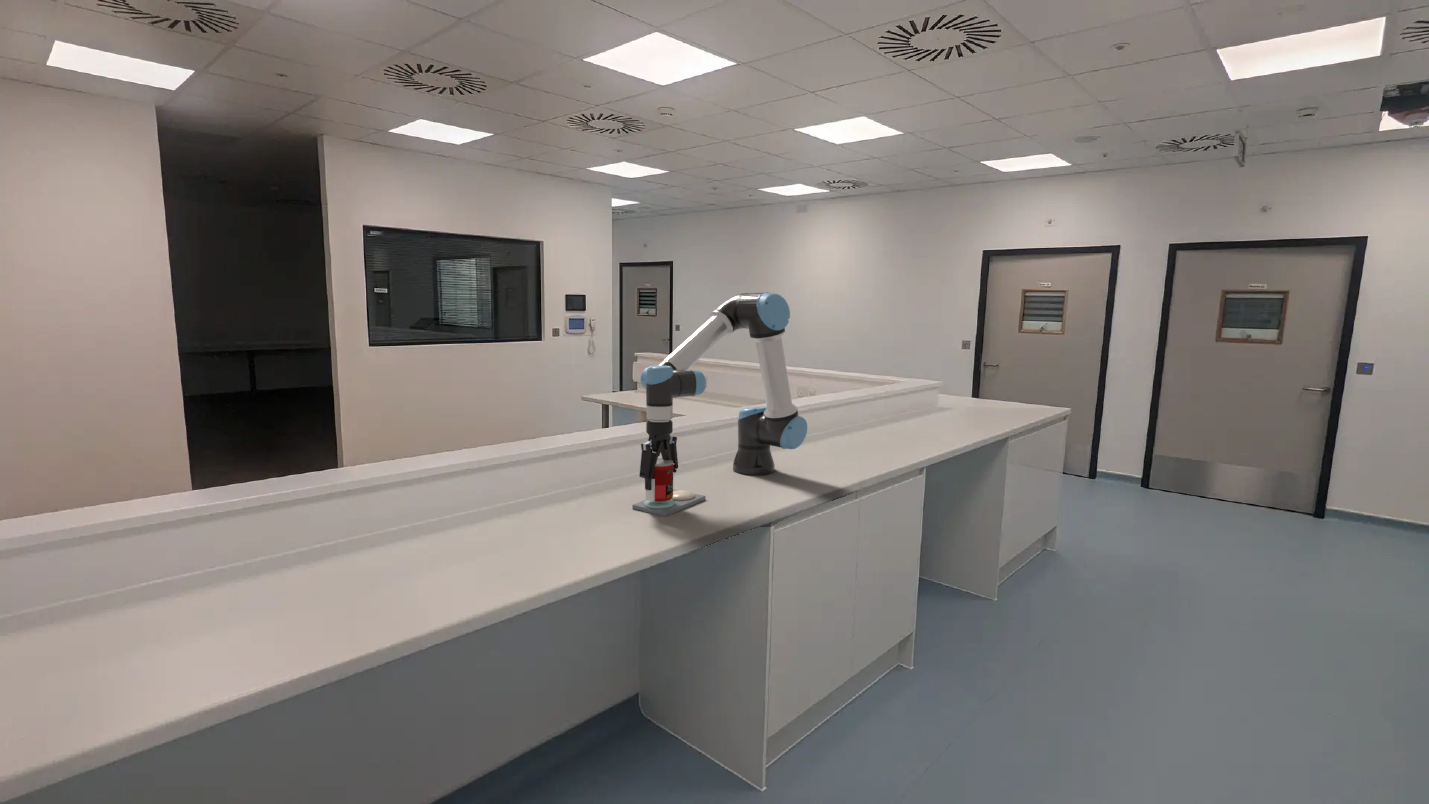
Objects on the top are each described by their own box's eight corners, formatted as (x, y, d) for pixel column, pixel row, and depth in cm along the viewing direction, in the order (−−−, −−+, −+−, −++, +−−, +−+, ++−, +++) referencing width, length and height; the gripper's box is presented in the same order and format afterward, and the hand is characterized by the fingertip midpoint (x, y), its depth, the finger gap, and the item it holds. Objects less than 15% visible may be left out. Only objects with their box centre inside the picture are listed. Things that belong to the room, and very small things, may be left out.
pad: (657, 498, 196) (657, 496, 196) (681, 503, 191) (681, 501, 191) (637, 505, 188) (637, 503, 188) (661, 510, 183) (661, 508, 183)
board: (674, 493, 205) (674, 487, 205) (705, 499, 199) (705, 494, 198) (632, 508, 189) (632, 502, 188) (665, 516, 182) (665, 510, 182)
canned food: (672, 502, 185) (672, 464, 184) (644, 501, 185) (643, 464, 184) (674, 494, 193) (674, 458, 191) (647, 494, 193) (647, 457, 191)
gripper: (670, 414, 196) (670, 487, 200) (625, 423, 180) (626, 503, 183) (691, 416, 192) (690, 491, 196) (646, 426, 175) (646, 508, 179)
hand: (659, 497), depth 189 cm, fingers closed on canned food, 8 cm apart
